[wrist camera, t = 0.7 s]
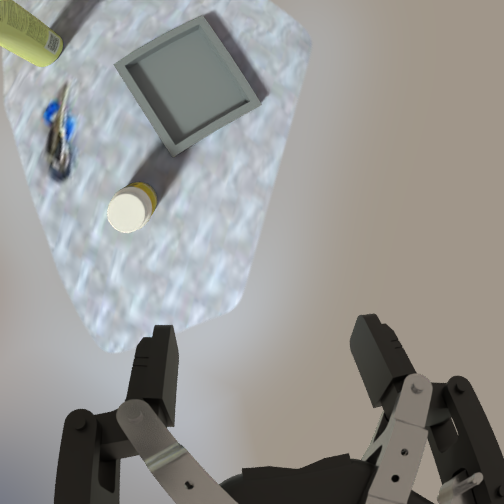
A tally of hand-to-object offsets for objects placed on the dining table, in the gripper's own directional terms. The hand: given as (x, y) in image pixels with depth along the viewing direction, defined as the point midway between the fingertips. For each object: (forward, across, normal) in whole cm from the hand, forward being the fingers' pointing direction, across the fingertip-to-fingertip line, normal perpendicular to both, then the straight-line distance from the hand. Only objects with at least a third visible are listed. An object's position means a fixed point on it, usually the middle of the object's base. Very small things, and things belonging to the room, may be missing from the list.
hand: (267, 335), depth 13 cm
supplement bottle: (+26, +12, +4) cm, 29 cm away
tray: (+30, +6, -10) cm, 32 cm away
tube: (+30, +25, -18) cm, 43 cm away
